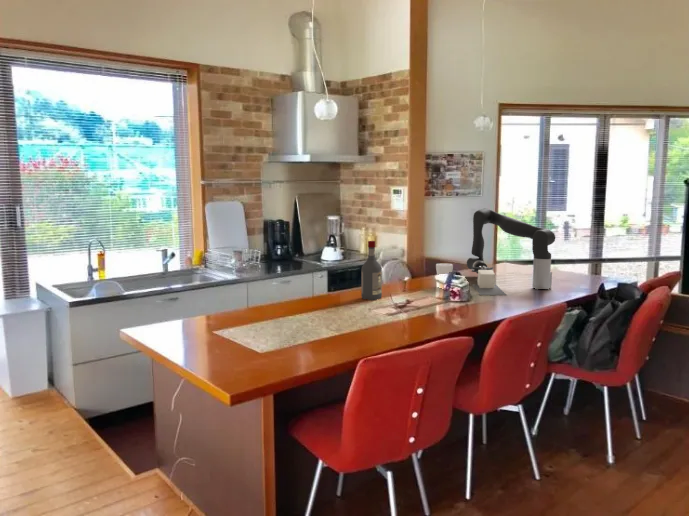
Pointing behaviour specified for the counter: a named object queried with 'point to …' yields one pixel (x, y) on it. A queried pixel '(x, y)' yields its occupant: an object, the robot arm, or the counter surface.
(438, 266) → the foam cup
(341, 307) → the counter surface
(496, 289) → the rubber mat
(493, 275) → the off-white cube
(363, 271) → the liquor
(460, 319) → the counter surface
